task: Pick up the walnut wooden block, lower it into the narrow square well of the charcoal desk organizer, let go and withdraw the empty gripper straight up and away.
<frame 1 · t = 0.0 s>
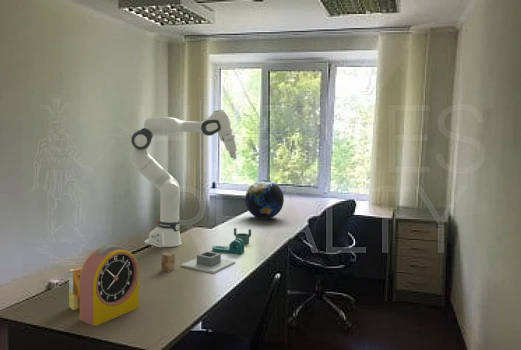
hand: (233, 158, 277), 52 cm above the table, tool tilted 20°, fingers open, 8 cm apart
bracket: (242, 243, 284), on the table
globe: (263, 218, 358), on the table
alarm clock: (110, 313, 175), on the table
bracket 2: (227, 252, 263), on the table
walnut block: (167, 270, 228), on the table
well: (208, 264, 238), on the table
candy box: (82, 306, 181), on the table
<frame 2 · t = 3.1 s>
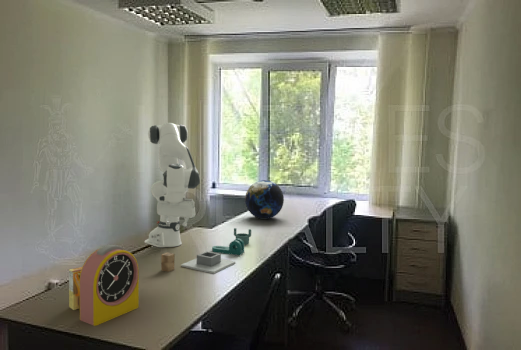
hand: (176, 225, 226), 22 cm above the table, tool pointing down, fingers open, 8 cm apart
nothing on the table moved.
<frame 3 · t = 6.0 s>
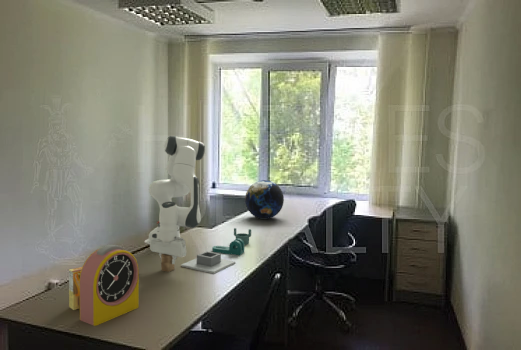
hand: (167, 262, 228), 4 cm above the table, tool pointing down, fingers closed on walnut block, 4 cm apart
walnut block: (167, 269, 228), on the table, touching gripper
everything else where it was.
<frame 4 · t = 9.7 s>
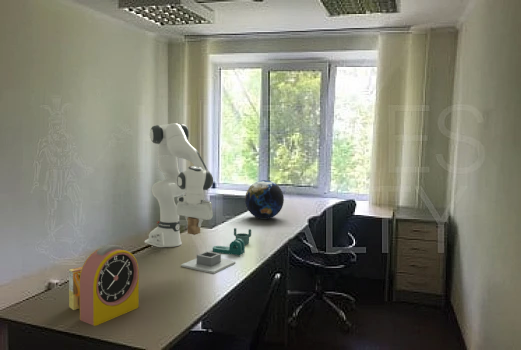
hand: (194, 226, 232), 21 cm above the table, tool pointing down, fingers closed on walnut block, 4 cm apart
walnut block: (193, 233, 232), point 17 cm above the table, touching gripper
everything else where it was.
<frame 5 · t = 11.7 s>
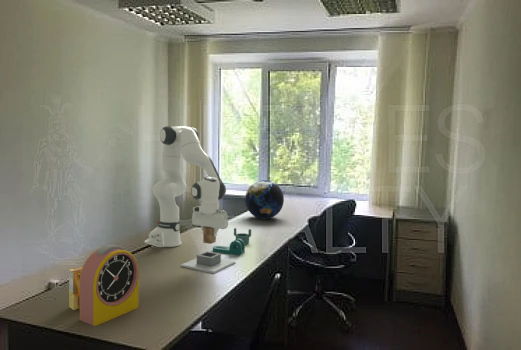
hand: (209, 235, 236), 16 cm above the table, tool pointing down, fingers closed on walnut block, 4 cm apart
walnut block: (209, 242, 237), point 12 cm above the table, touching gripper
everything else where it was.
when the fingers open (7 cm above the table, at t = 13.6 s): walnut block drops 2 cm, resting on well.
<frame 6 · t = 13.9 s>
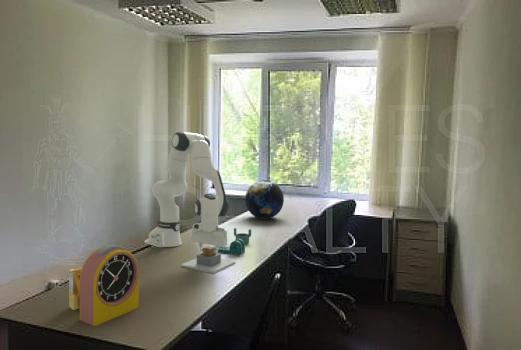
hand: (208, 252, 238), 7 cm above the table, tool pointing down, fingers open, 7 cm apart
walnut block: (208, 262, 238), point 1 cm above the table, touching well
everything else where it was.
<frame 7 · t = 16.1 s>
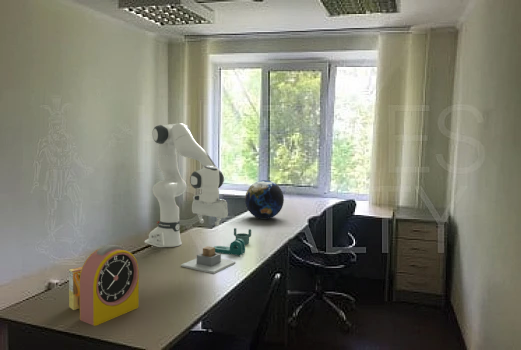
hand: (209, 224, 236), 21 cm above the table, tool pointing down, fingers open, 8 cm apart
nothing on the table moved.
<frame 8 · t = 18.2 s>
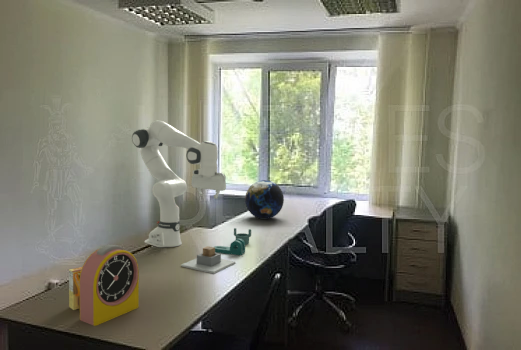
hand: (208, 197, 247), 33 cm above the table, tool pointing down, fingers open, 8 cm apart
nothing on the table moved.
at the end: walnut block 0.1 cm off-centre on the well, point 1.0 cm above the well's base; walnut block tilted 0°; the gripper is holding nothing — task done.
